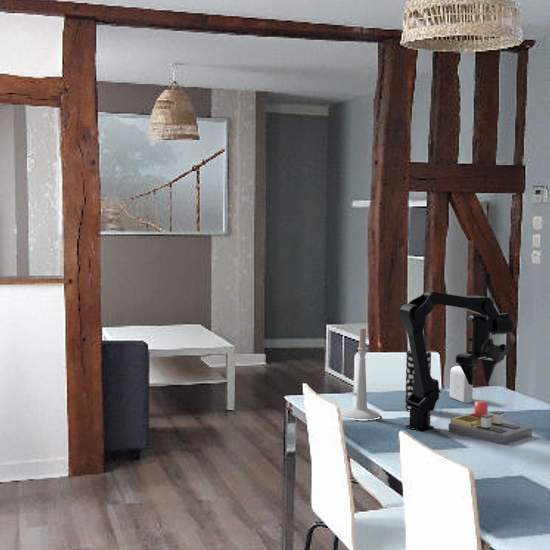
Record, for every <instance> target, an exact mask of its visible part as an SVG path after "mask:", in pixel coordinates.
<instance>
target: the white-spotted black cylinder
mask: <svg viewBox="0 0 550 550" xmlns="http://www.w3.org/2000/svg"><path fill="white" fill-rule="evenodd" d="M426 352H427V358H428V364H429V370H430V375H431V376H432V374H431V373H432V371H431V370H432V352H431V351H427V350H426ZM405 356H406V357H405V358H406V359H405V361H406V362H405V365H406V366H405V400H404V402H405V406H404V409H405V408H406V409H407V410H410V409H411V407H409V406H407V404H406V399H407V398H408V397H409V396H410V394H411V393H412V392H413V382H414V379H415V372H414V366H413V361H412V355H411V350H408V351H406V355H405Z"/></svg>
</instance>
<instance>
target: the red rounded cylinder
mask: <svg viewBox="0 0 550 550" xmlns="http://www.w3.org/2000/svg"><path fill="white" fill-rule="evenodd" d="M488 405H489V403H488V402H487V401H483V400H476V401H474V411H473V413H474V417H478V418H481V415H485V414H487V415H488V414H489V413H488V409H489V408H488Z"/></svg>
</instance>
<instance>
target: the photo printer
mask: <svg viewBox="0 0 550 550" xmlns="http://www.w3.org/2000/svg"><path fill="white" fill-rule="evenodd" d="M473 385H474V384H473ZM473 385H469V383H468V381H467V379H466V376H465V374H464V372H463V370H462V368H461V367H460V365H455V366H452V367H451V369H450V373H449V397H450V398H451V399H453V400H456V401H459V402H462V403H463V404H471V403H472V401H473V396H474V394H473V388H474V386H473ZM470 402H471V403H470Z"/></svg>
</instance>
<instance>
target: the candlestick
mask: <svg viewBox="0 0 550 550" xmlns="http://www.w3.org/2000/svg"><path fill="white" fill-rule="evenodd" d="M366 339H367V328H366V327H360V328H359V347H357V350H358V355H359V359H358V360H359V361H358V375H357V376H358V377H357V389H356V401H355V402H356V403H355V407H352V408H349V409H346V410H345V411H343V412H342V414H341V417H342V416H344V417H347V418H354V419H374V418H378V417H380V416H382V415H381V414H380V413H379V412H378V411H377V410H374V409H372V408H369V407H368V406H367V405H368V404H367V403H368V401H367V377H366V376H367V374H366V358H365V357H366V354H367V350H368V349H369V348H368V347H367V346H366V345H367V343H366V341H367V340H366Z"/></svg>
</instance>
